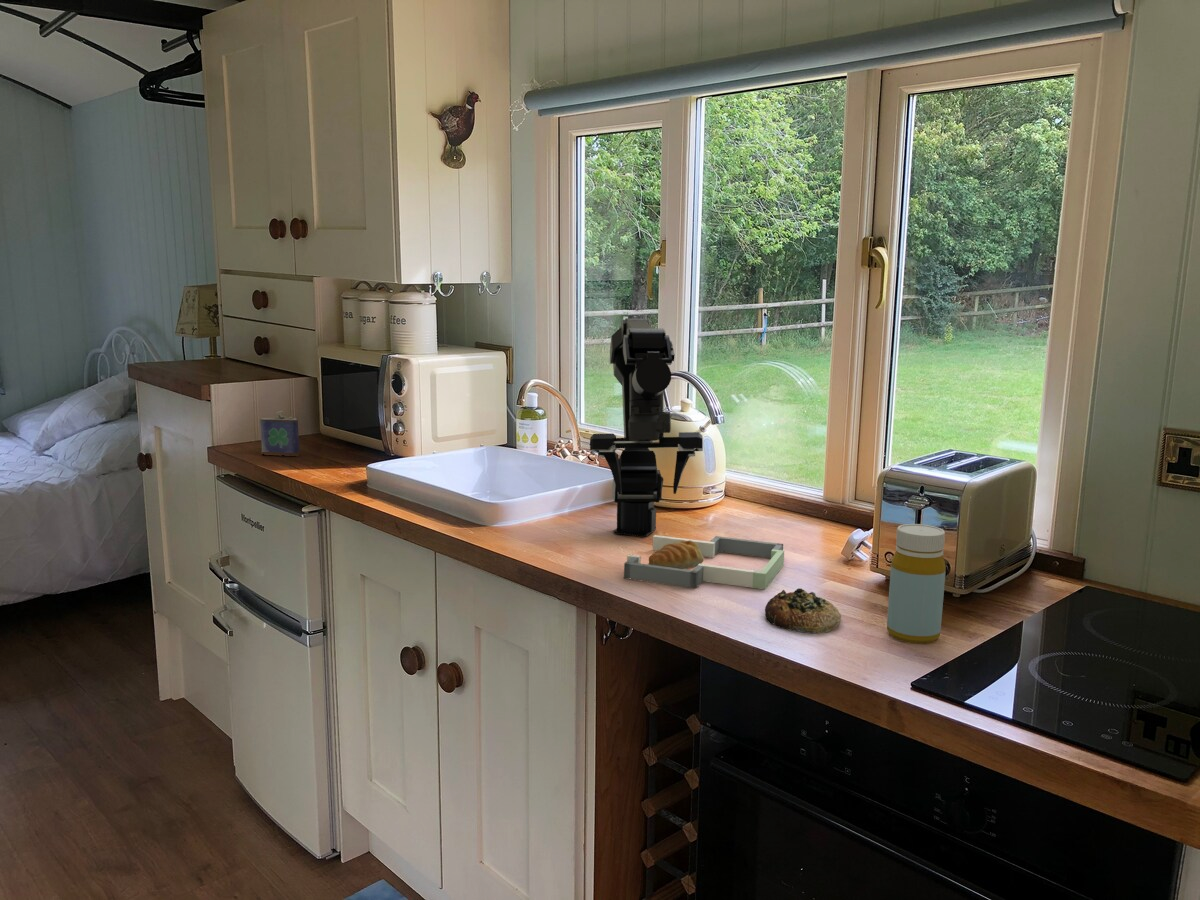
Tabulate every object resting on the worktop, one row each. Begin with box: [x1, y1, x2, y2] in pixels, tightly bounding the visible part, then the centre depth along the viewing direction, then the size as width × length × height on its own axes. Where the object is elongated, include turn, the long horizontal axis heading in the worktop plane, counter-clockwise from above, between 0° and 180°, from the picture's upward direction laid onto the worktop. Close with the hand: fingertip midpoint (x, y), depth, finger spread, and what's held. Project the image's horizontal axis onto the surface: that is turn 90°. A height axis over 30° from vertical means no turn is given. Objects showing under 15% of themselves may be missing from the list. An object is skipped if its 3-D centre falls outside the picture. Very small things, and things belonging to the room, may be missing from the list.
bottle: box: [886, 523, 947, 645], centre depth 134 cm, size 7×7×15 cm
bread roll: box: [764, 588, 842, 634], centre depth 141 cm, size 11×11×5 cm
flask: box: [259, 410, 301, 453], centre depth 253 cm, size 10×3×12 cm, turn 84°
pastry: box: [648, 540, 704, 569], centre depth 166 cm, size 9×7×4 cm
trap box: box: [623, 534, 785, 590], centre depth 164 cm, size 23×22×2 cm
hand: (647, 494), depth 166 cm, fingers open, 9 cm apart
